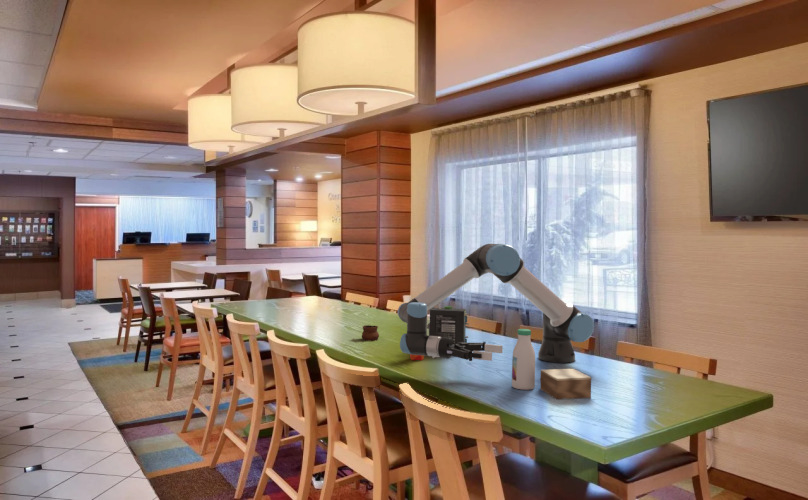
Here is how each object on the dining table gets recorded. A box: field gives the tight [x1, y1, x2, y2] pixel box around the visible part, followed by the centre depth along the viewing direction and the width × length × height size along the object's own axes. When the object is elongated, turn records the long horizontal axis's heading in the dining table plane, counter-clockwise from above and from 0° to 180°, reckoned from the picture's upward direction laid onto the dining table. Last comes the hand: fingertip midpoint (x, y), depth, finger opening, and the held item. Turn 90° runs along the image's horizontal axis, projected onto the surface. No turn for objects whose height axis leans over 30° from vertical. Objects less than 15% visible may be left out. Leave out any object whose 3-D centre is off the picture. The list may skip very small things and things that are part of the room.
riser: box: [540, 368, 592, 400], centre depth 188 cm, size 12×12×7 cm
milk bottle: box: [511, 328, 536, 391], centre depth 194 cm, size 8×8×20 cm
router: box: [427, 305, 470, 344], centre depth 253 cm, size 8×18×20 cm, turn 78°
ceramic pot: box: [352, 324, 380, 342], centre depth 279 cm, size 18×18×7 cm
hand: (497, 352), depth 198 cm, fingers open, 13 cm apart
